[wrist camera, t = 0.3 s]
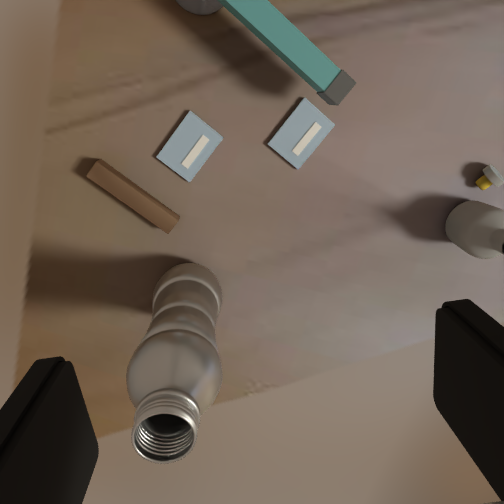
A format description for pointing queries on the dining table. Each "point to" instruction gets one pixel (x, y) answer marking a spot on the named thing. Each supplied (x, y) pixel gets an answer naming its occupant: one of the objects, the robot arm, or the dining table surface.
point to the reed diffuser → (479, 222)
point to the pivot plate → (200, 6)
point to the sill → (133, 196)
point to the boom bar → (292, 48)
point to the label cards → (207, 139)
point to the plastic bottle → (176, 364)
